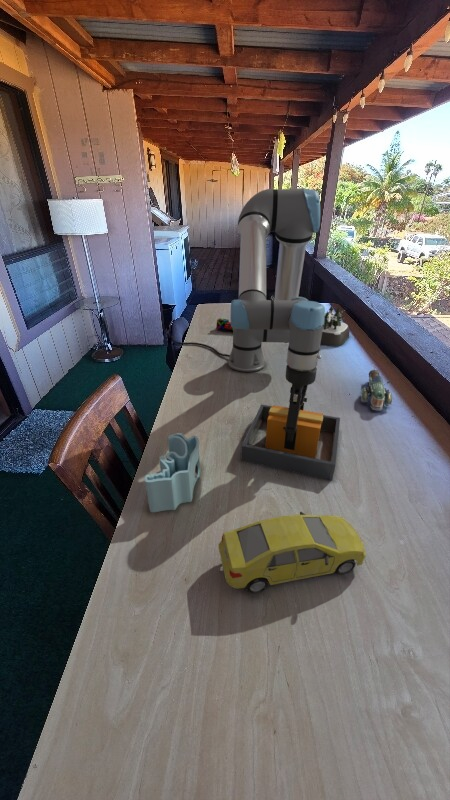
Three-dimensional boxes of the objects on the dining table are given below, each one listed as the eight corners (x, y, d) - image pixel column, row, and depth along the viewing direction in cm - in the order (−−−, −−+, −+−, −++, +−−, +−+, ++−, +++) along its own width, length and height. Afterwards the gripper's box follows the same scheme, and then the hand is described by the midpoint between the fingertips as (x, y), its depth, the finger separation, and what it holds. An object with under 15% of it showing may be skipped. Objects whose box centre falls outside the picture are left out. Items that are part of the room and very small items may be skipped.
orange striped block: (264, 447, 99) (266, 416, 94) (270, 433, 106) (272, 402, 100) (316, 458, 96) (321, 426, 90) (318, 442, 102) (324, 411, 96)
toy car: (372, 576, 66) (385, 542, 61) (229, 608, 61) (229, 574, 56) (341, 525, 76) (350, 493, 71) (216, 549, 71) (215, 516, 66)
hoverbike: (360, 410, 116) (365, 389, 112) (358, 377, 136) (362, 358, 132) (391, 415, 114) (397, 393, 109) (384, 380, 134) (390, 361, 130)
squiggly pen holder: (190, 515, 79) (188, 484, 74) (148, 511, 80) (143, 481, 75) (202, 462, 94) (201, 434, 90) (166, 459, 95) (163, 432, 90)
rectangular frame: (241, 460, 95) (241, 445, 92) (260, 417, 113) (261, 404, 110) (332, 480, 88) (335, 465, 86) (337, 431, 106) (340, 417, 104)
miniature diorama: (351, 335, 176) (358, 301, 168) (339, 348, 162) (346, 311, 153) (313, 327, 186) (318, 295, 177) (299, 339, 171) (303, 304, 162)
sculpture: (273, 329, 171) (216, 320, 178) (272, 339, 173) (215, 329, 180) (276, 326, 179) (221, 317, 186) (275, 335, 181) (220, 326, 188)
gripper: (311, 391, 76) (300, 465, 87) (321, 349, 97) (312, 413, 108) (277, 385, 78) (270, 458, 89) (294, 345, 99) (287, 409, 110)
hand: (293, 434), depth 98 cm, fingers open, 13 cm apart
